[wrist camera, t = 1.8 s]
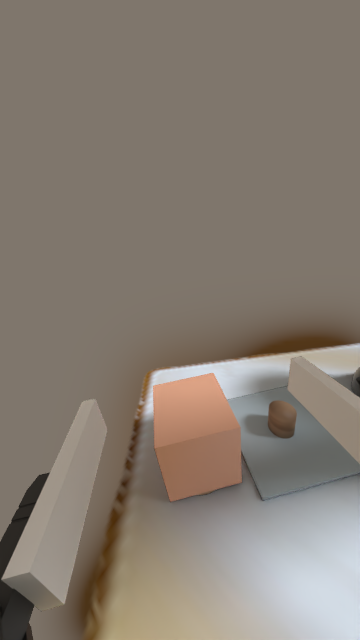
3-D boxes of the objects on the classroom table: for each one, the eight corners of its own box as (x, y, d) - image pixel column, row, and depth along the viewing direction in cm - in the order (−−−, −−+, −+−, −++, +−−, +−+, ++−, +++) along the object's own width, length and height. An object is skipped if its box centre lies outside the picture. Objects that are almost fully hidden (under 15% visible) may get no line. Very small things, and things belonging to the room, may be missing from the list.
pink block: (217, 419, 34) (213, 372, 30) (241, 482, 25) (240, 427, 21) (164, 432, 34) (153, 385, 29) (170, 502, 24) (154, 448, 20)
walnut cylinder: (276, 413, 34) (278, 396, 32) (299, 429, 31) (302, 411, 29) (262, 425, 32) (263, 408, 31) (285, 443, 29) (287, 426, 27)
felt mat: (290, 387, 40) (291, 385, 39) (373, 469, 25) (374, 466, 25) (219, 403, 38) (219, 401, 38) (262, 500, 24) (262, 498, 23)
